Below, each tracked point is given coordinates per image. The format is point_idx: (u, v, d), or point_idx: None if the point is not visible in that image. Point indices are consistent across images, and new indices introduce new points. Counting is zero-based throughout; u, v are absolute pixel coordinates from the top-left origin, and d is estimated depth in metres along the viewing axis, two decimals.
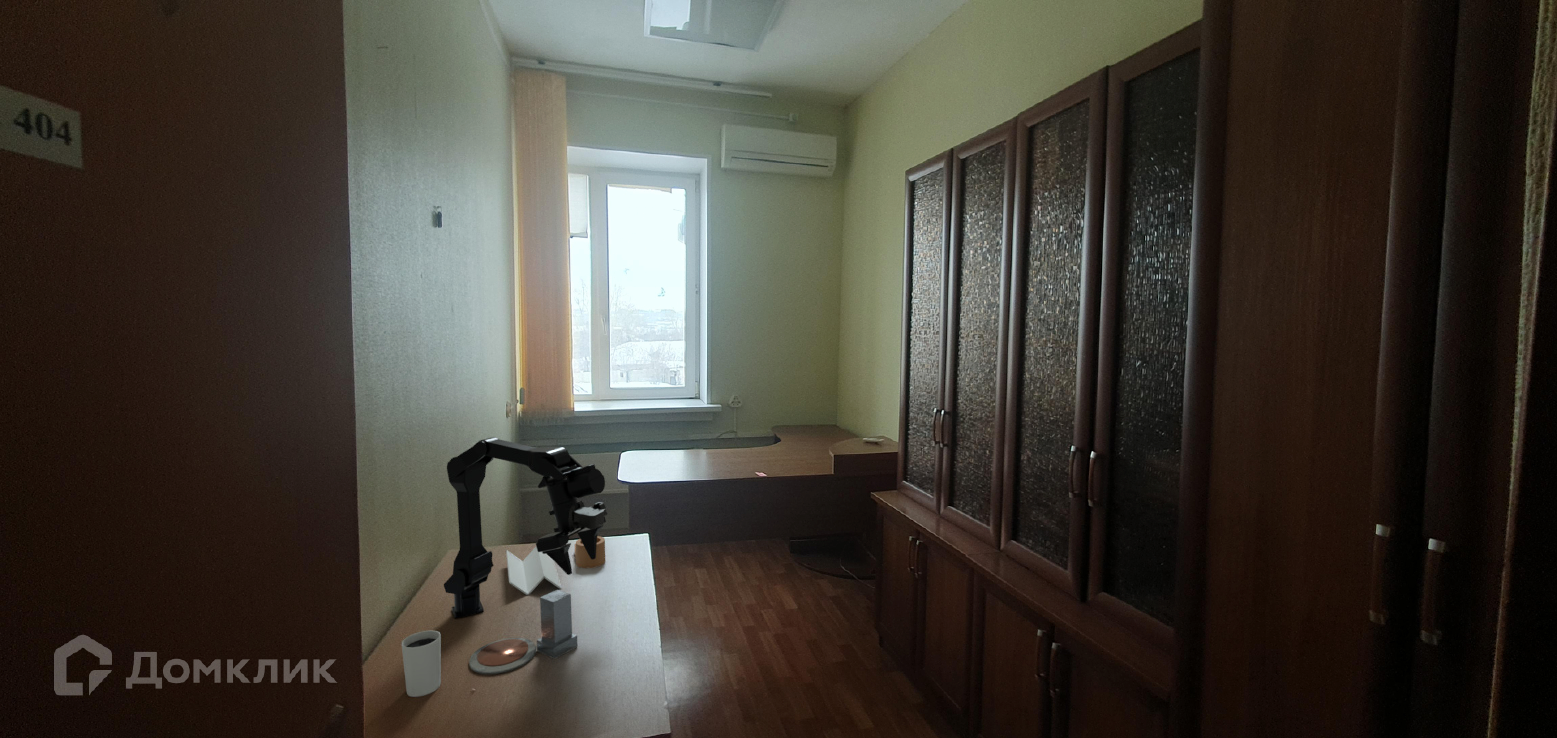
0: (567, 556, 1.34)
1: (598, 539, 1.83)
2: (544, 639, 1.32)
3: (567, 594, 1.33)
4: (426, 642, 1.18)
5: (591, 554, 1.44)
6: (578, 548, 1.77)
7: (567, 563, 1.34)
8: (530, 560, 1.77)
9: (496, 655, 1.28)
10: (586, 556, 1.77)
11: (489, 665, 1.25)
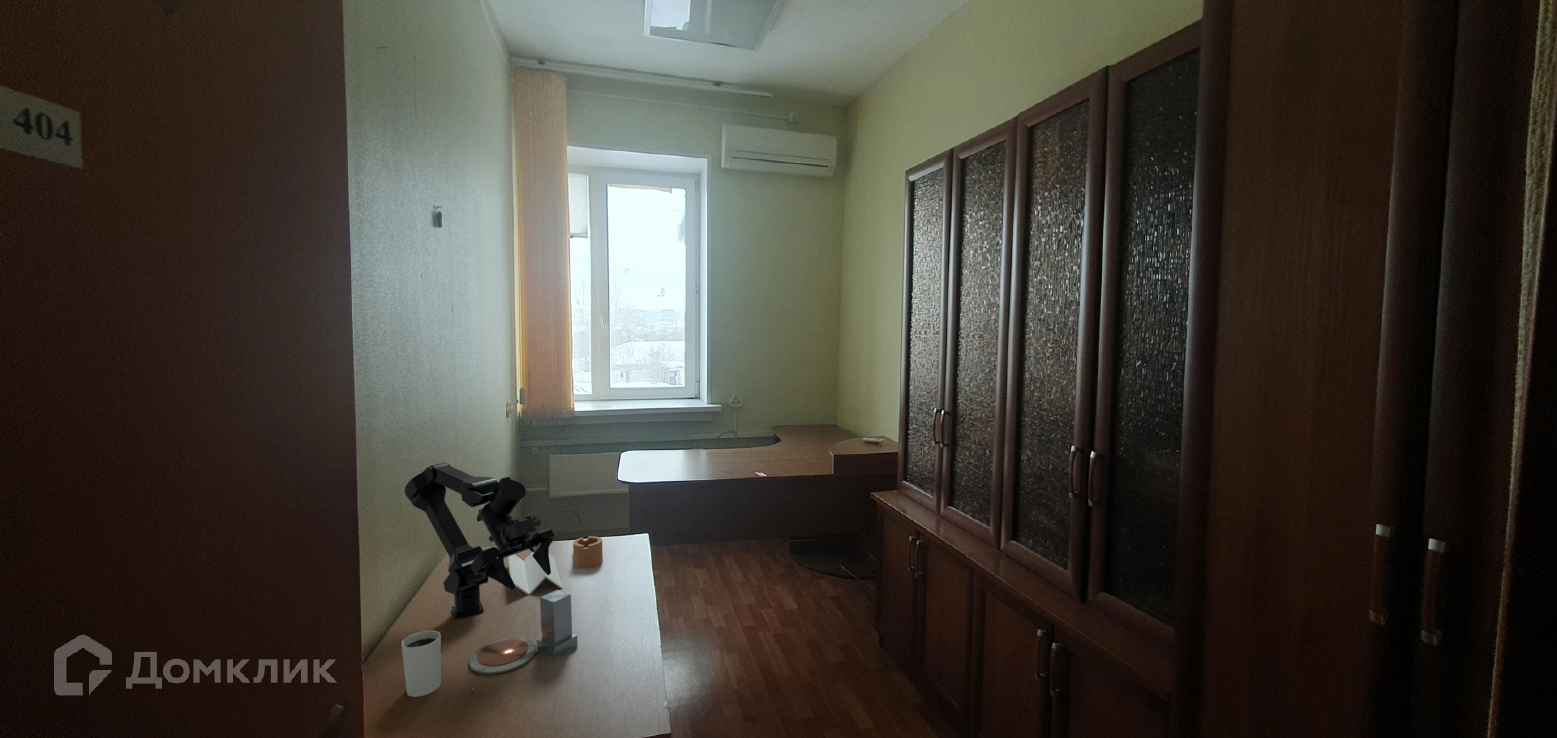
0: (504, 570, 1.33)
1: (596, 539, 1.83)
2: (544, 639, 1.32)
3: (567, 594, 1.33)
4: (426, 642, 1.18)
5: (546, 570, 1.40)
6: (575, 548, 1.77)
7: (506, 577, 1.32)
8: (531, 560, 1.77)
9: (496, 655, 1.28)
10: (582, 556, 1.76)
11: (489, 665, 1.25)
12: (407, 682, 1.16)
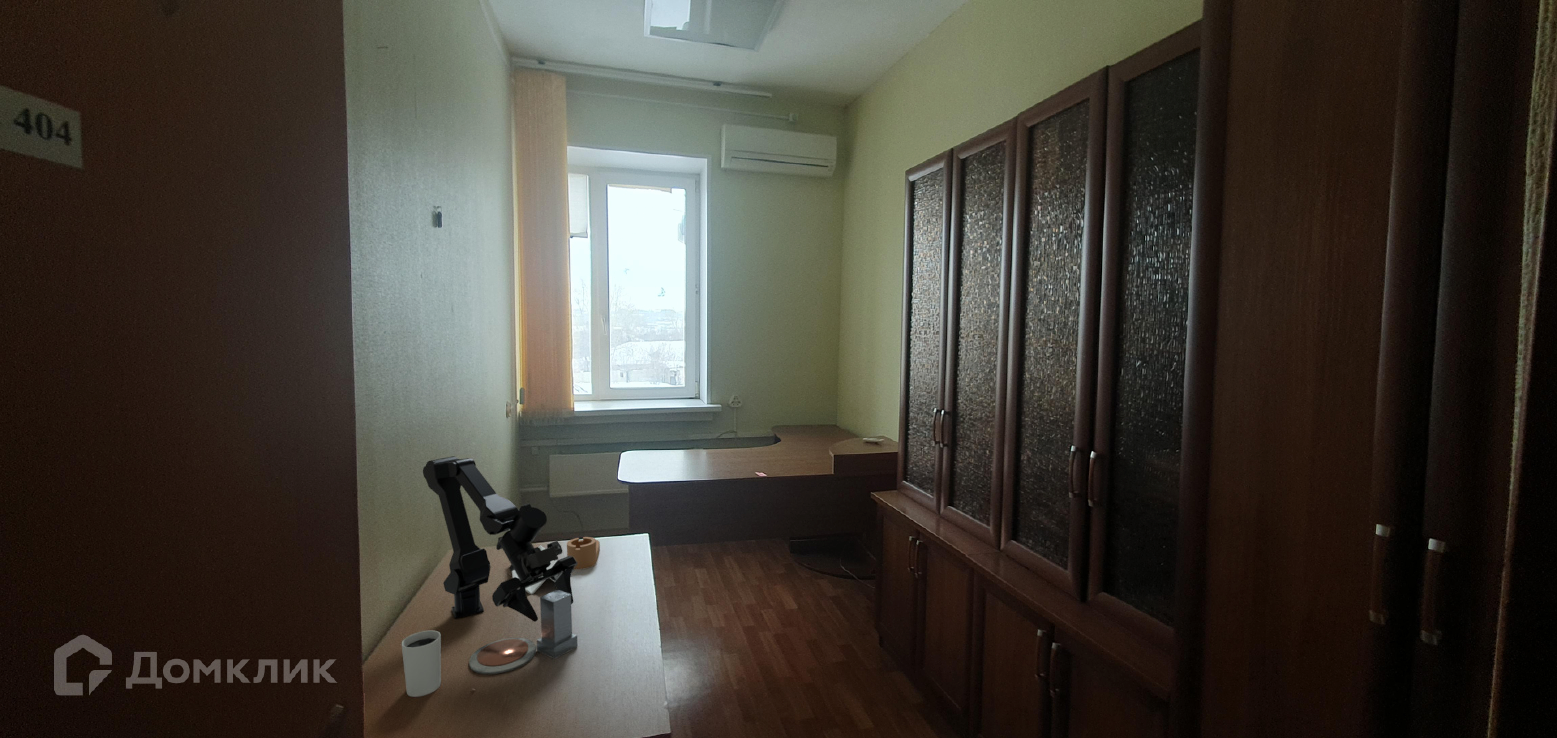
0: (526, 601, 1.29)
1: (590, 540, 1.82)
2: (544, 639, 1.32)
3: (567, 594, 1.33)
4: (426, 642, 1.18)
5: None
6: (568, 548, 1.77)
7: (528, 609, 1.28)
8: None
9: (496, 655, 1.28)
10: (574, 557, 1.76)
11: (489, 665, 1.25)
12: (407, 682, 1.16)
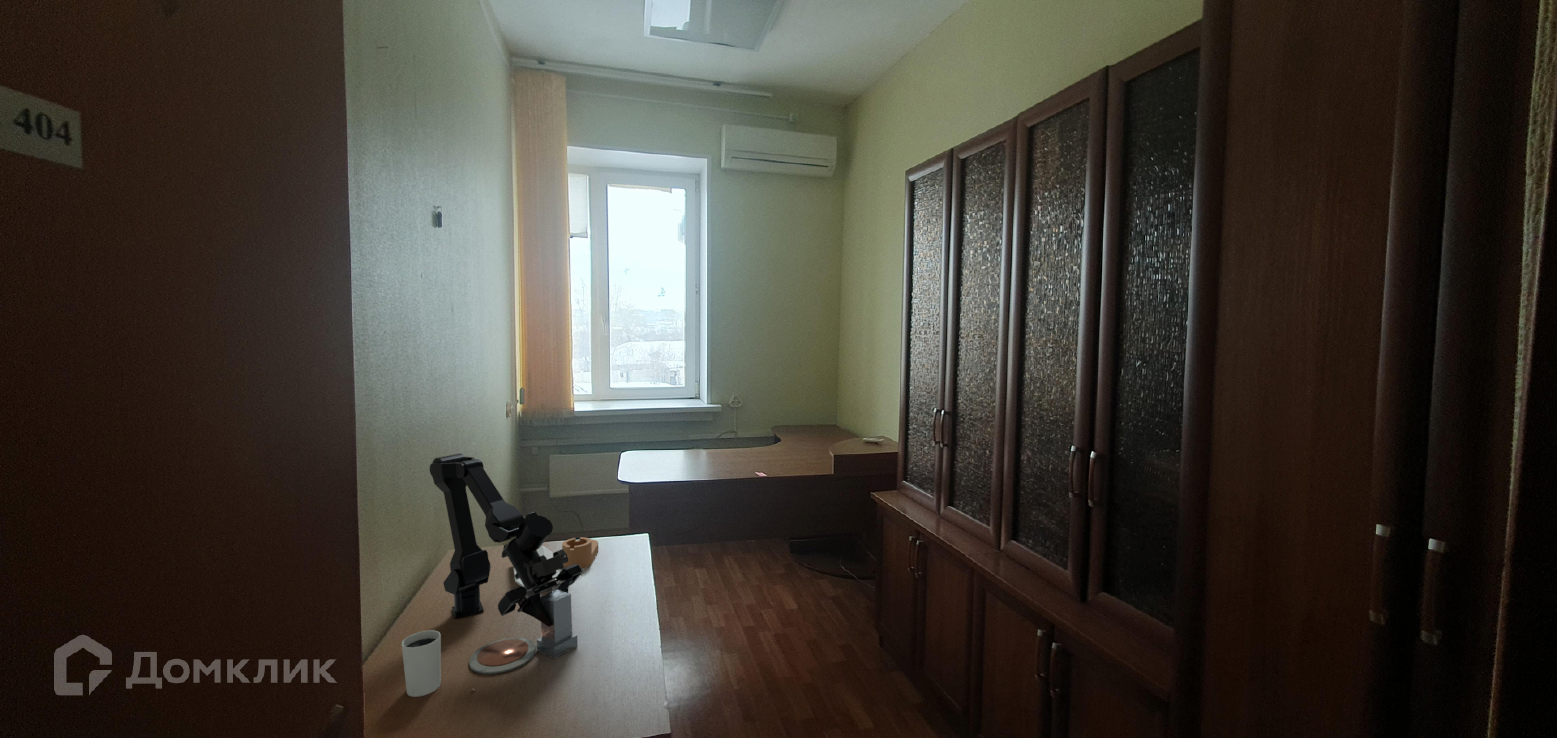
0: (541, 607, 1.30)
1: (586, 541, 1.81)
2: (544, 639, 1.32)
3: (567, 594, 1.33)
4: (426, 642, 1.18)
5: None
6: (562, 548, 1.77)
7: (543, 614, 1.29)
8: None
9: (496, 655, 1.28)
10: (568, 557, 1.76)
11: (489, 665, 1.25)
12: (407, 682, 1.16)
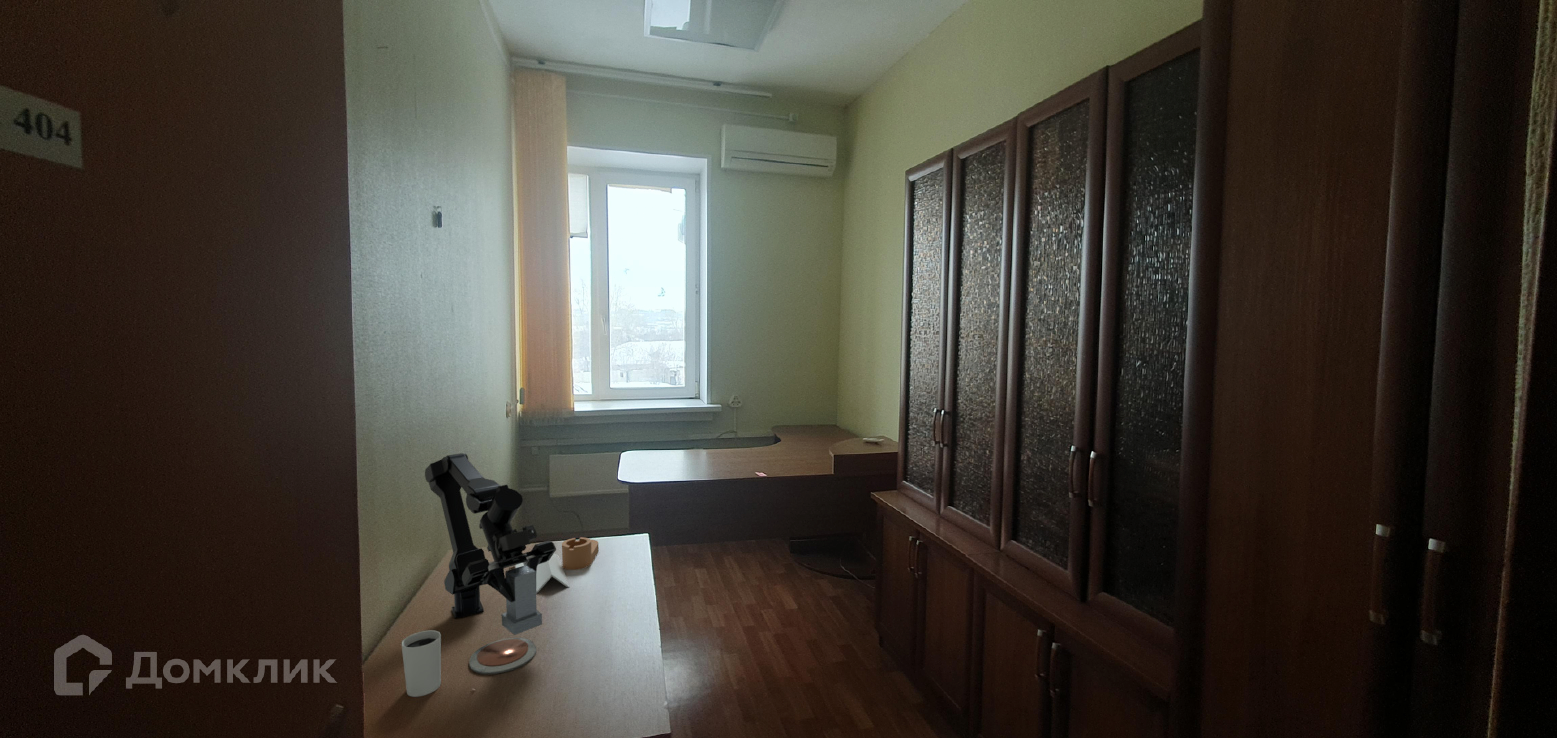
0: (503, 581, 1.28)
1: (586, 541, 1.81)
2: (508, 614, 1.29)
3: (532, 571, 1.29)
4: (426, 642, 1.18)
5: None
6: (562, 548, 1.77)
7: (505, 589, 1.27)
8: None
9: (496, 655, 1.28)
10: (568, 557, 1.76)
11: (489, 665, 1.25)
12: (407, 682, 1.16)
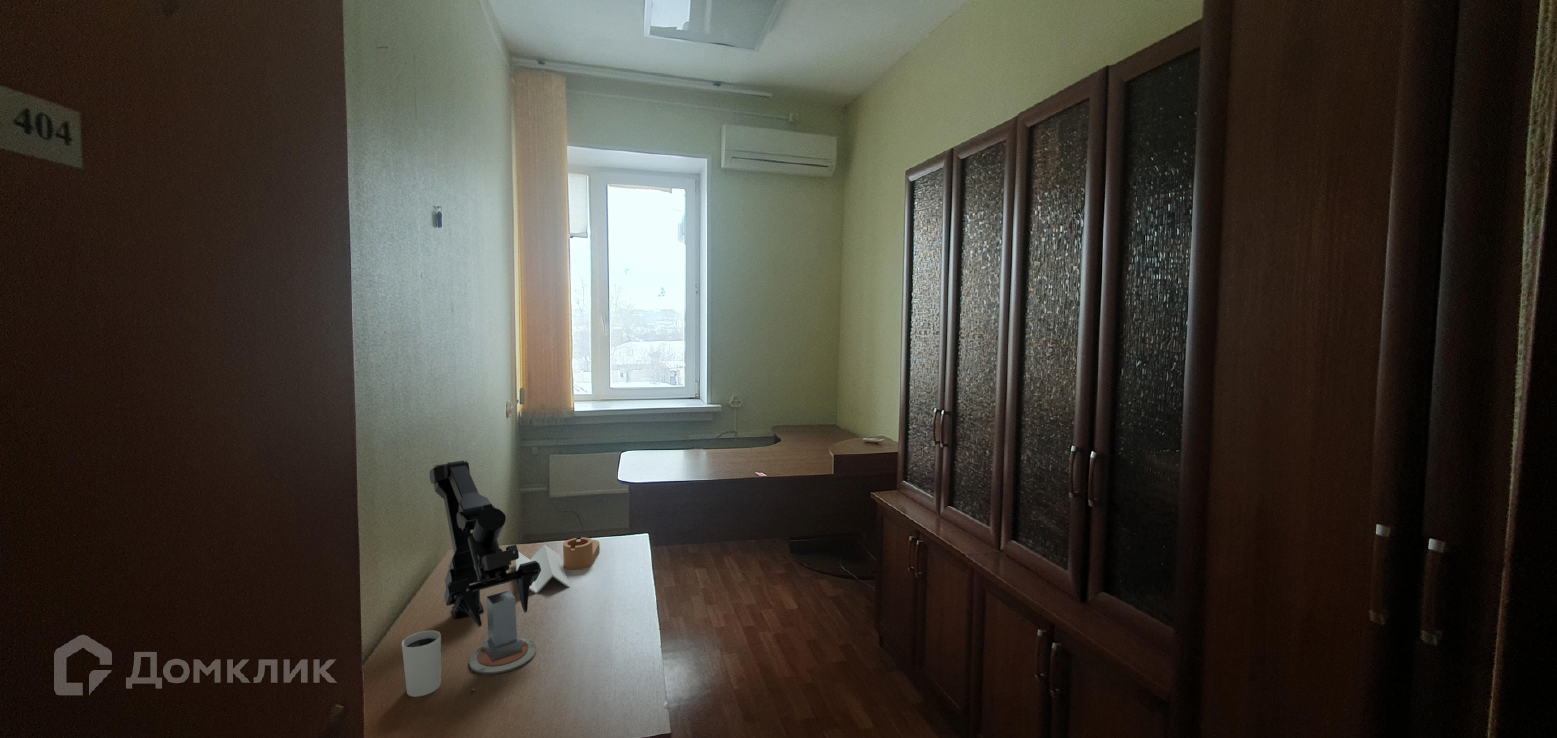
0: (472, 605, 1.26)
1: (587, 541, 1.81)
2: (489, 640, 1.29)
3: (511, 597, 1.28)
4: (426, 642, 1.18)
5: (523, 607, 1.31)
6: (563, 548, 1.77)
7: (473, 612, 1.25)
8: (538, 559, 1.78)
9: None
10: (569, 557, 1.76)
11: (489, 665, 1.25)
12: (407, 682, 1.16)
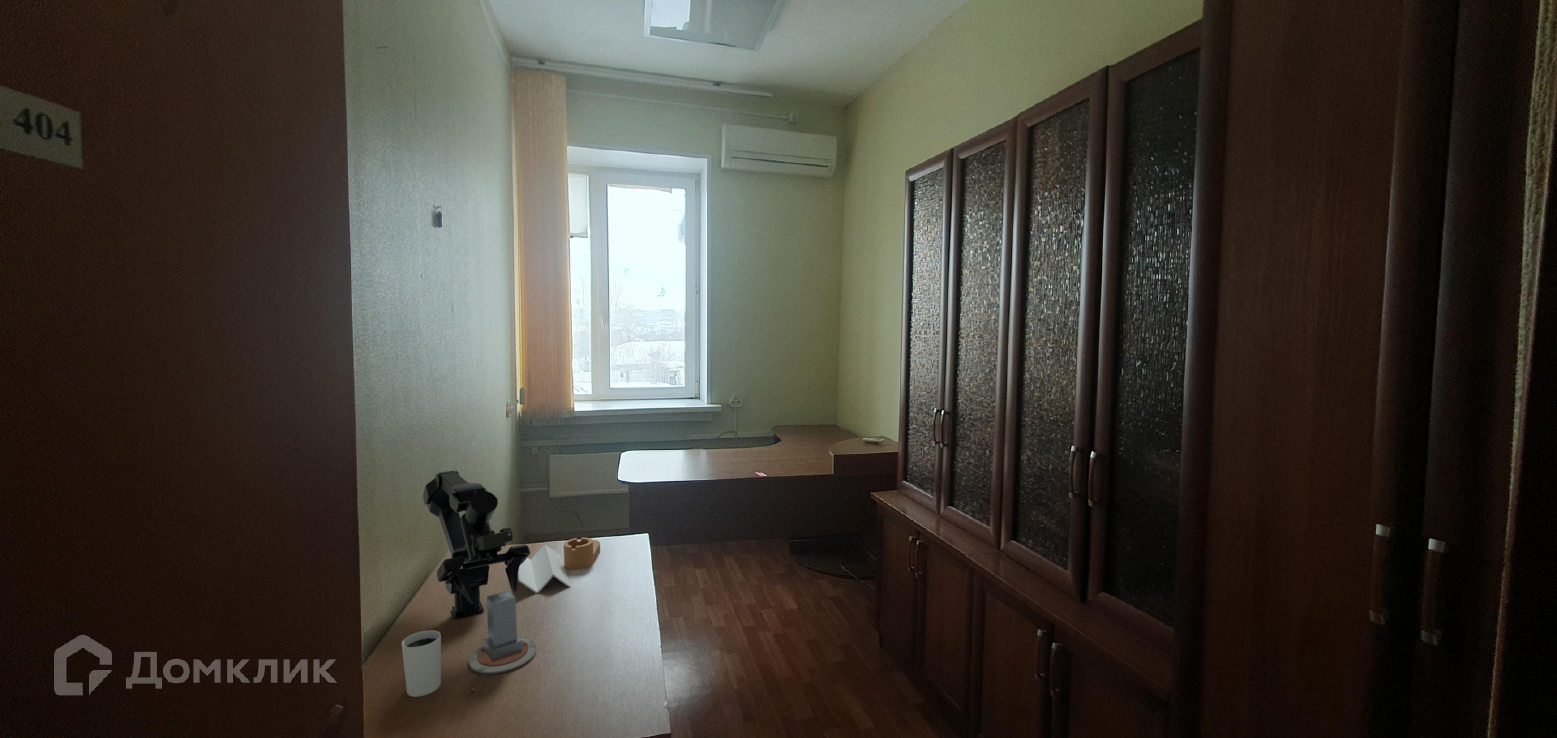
0: (466, 582, 1.31)
1: (588, 541, 1.81)
2: (489, 640, 1.29)
3: (511, 597, 1.28)
4: (426, 642, 1.18)
5: (512, 587, 1.38)
6: (564, 549, 1.77)
7: (466, 590, 1.31)
8: (538, 559, 1.78)
9: None
10: (570, 558, 1.76)
11: (489, 665, 1.25)
12: (407, 682, 1.16)
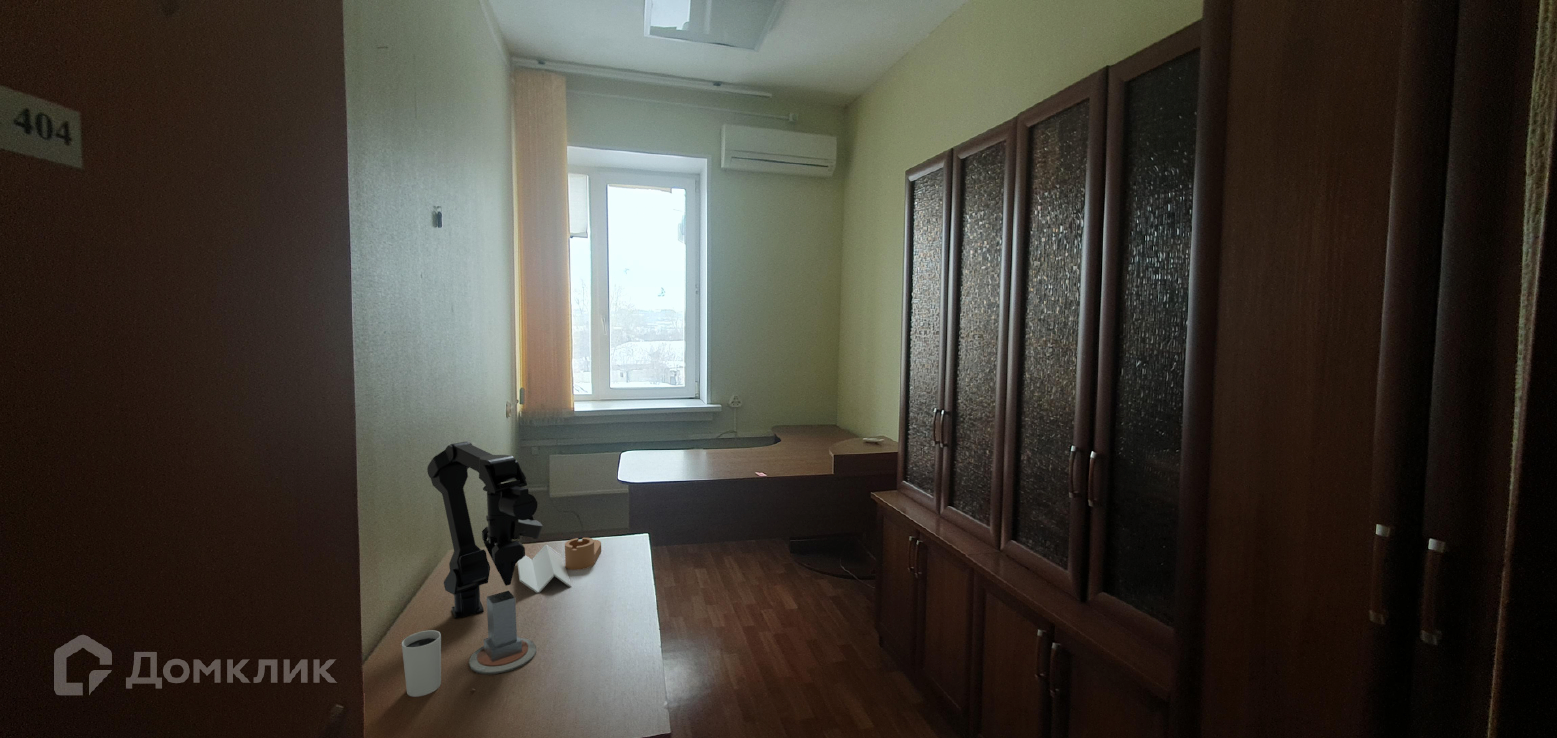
0: None
1: (589, 541, 1.81)
2: (489, 640, 1.29)
3: (511, 597, 1.28)
4: (426, 642, 1.18)
5: None
6: (565, 549, 1.77)
7: (512, 573, 1.35)
8: (539, 559, 1.78)
9: None
10: (571, 558, 1.76)
11: (489, 665, 1.25)
12: (407, 682, 1.16)
